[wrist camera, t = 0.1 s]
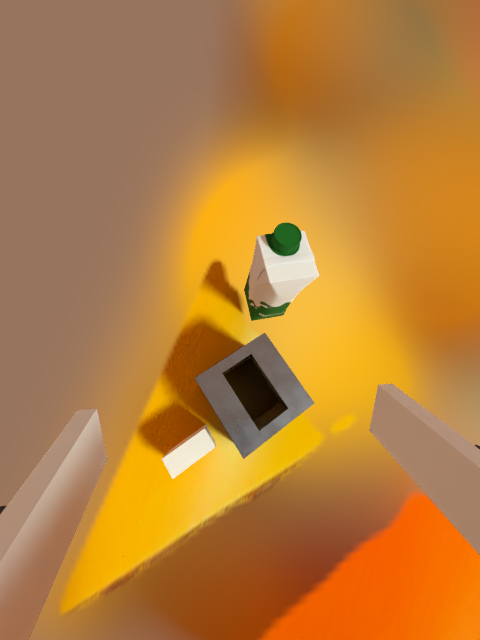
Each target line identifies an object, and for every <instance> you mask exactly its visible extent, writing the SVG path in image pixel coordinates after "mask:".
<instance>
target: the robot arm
mask: <svg viewBox="0 0 480 640" xmlns="http://www.w3.org/2000/svg"><path fill="white" fill-rule="evenodd" d="M370 431H371V433H372V434H373V435H374V436H375V437H376V438H377V439H378V440H379V442H380V443H381V444H382V445H383V446H384V447H385V448H386V450H387V451H388V452H389V453H390V454H391V455H392V456H393V457H394V459H395V460H396V461H397V462H398V463H399V464H400V465H401V467H402V468H403V469H404V470H405V471H406V472H407V473H408V474H409V476H410V477H411V478H412V479H413V480H414V481H415V482H416V483H417V484H418V486H419V487H420V488H421V489H422V490H423V491H424V493H425V494H426V495H427V496H428V497H429V498H430V499H431V500H432V502H433V503H434V504H435V505H436V506H437V507H438V508H439V509H440V511H441V512H442V513H443V514H444V515H445V516H446V517H447V519H448V520H449V521H450V522H451V523H452V524H453V525H454V526H455V528H456V529H457V530H458V531H459V532H460V533H461V534H462V535H463V537H464V538H465V539H466V540H467V541H468V542H469V543H470V545H471V546H472V547H473V548H474V549H475V550H476V551H477V552H478V554H479V555H480V446H478V445H473V444H472V443H470V442H469V441H468V440H466V439H465V438H464V437H462V436H461V435H459V434H458V433H457V432H456V431H454V430H453V429H452V428H450V427H449V426H448V425H446V424H445V423H444V422H442V421H441V420H440V419H438V418H437V417H436V416H434V415H433V414H432V413H430V412H429V411H428V410H426V409H425V408H424V407H422V406H421V405H419V404H418V403H417V402H416V401H414V400H413V399H412V398H410V397H409V396H408V395H406V394H405V393H404V392H402V391H401V390H400V389H398V388H397V387H396V386H394V385H393V384H384V385H378V389H377V394H376V399H375V404H374V410H373V415H372V420H371V425H370ZM106 460H107V457H106V452H105V447H104V443H103V437H102V432H101V427H100V422H99V417H98V413H97V409H86V410H77V411H76V413H75V414H74V415H73V417H72V418H71V419H70V421H69V422H68V424H67V425H66V426H65V428H64V429H63V430H62V432H61V433H60V434H59V436H58V437H57V438H56V440H55V441H54V443H53V444H52V445H51V447H50V448H49V449H48V451H47V452H46V454H45V455H44V456H43V458H42V459H41V460H40V462H39V463H38V464H37V466H36V467H35V468H34V470H33V471H32V472H31V474H30V475H29V476H28V478H27V479H26V480H25V482H24V483H23V485H22V486H21V487H20V489H19V490H18V491H17V493H16V494H15V495H14V497H13V498H12V500H11V501H10V502H9V504H8V505H7V506H2V507H0V640H28V639H29V637H30V635H31V632H32V630H33V628H34V626H35V623H36V621H37V619H38V617H39V614H40V612H41V609H42V607H43V605H44V603H45V601H46V598H47V596H48V594H49V591H50V589H51V587H52V584H53V582H54V580H55V578H56V575H57V573H58V571H59V568H60V566H61V564H62V562H63V559H64V557H65V555H66V552H67V550H68V548H69V545H70V543H71V541H72V539H73V536H74V534H75V532H76V529H77V527H78V525H79V522H80V520H81V518H82V516H83V513H84V511H85V509H86V506H87V504H88V502H89V500H90V497H91V495H92V493H93V490H94V488H95V486H96V483H97V481H98V479H99V476H100V474H101V472H102V470H103V467H104V465H105V463H106Z"/></svg>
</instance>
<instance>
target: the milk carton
mask: <svg viewBox="0 0 480 640" xmlns="http://www.w3.org/2000/svg"><path fill="white" fill-rule="evenodd" d="M314 261H315V258H314V255H313V254H312V251H311V248H310V245H309V243H308V240H307V237H306V234H305V232H304V231H300V230H299V228H298V227H297V226H295V225H293V224H291V223H281V224H279V225H278V226H277V227H276V228H275V230H274V233H272V234H265V235H264V236H257V240H256V246H255V252H254V258H253V262H252V265H251V269H250V272H249V276H248V279H247V283H246V286H245V289H244V290H245V295H246V299H247V303H248V307H249V312H250V316H251V320H258V319H264V318H270V317H276V316H281V315H284V312H285V311H286V308H287V307H288V306H289V304H290V303H291V302H292V301H293V299H294V298H295V297H296V296H297V294H298V293H299V292H300V291H301V290H302V289H304V288H305V287H306V286H307V285H308V284H309V283H311V282H312V281H313V280H314V279H316V278H317V277H318V276H319V273H318V271H317V268H316V264H315V262H314Z"/></svg>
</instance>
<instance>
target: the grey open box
mask: <svg viewBox="0 0 480 640" xmlns="http://www.w3.org/2000/svg"><path fill="white" fill-rule="evenodd" d="M248 358H251V359H252V361H253V362H254V364H255V365H256V366H257V368H258V369H259V371H260V372H261V374H262V375H263V377H264V378H265V380H266V381H267V383H268V384H269V386H270V387H271V389H272V390H273V392H274V393H275V395H276V396H277V398H278V399H279V401H280V402H279V403H278V404H276V405H275V406H274V407H272V408H271V409H270V410H268V411H267V412H266V413H264V414H263V415H262V416H260V417H259V418H258V419H256V420H255V421H254V422H253V421H252V419H251V418H250V416H249V414H248V413H247V411H246V410H245V408H244V407H243V405H242V403H241V402H240V400H239V399H238V397H237V396H236V394H235V392H234V391H233V389H232V388H231V386H230V385H229V383H228V381H227V380H226V378H225V377H224V374H226V373H227V372H229V371H230V370H232V369H233V368H235V367H236V366H238V365H239V364H241V363H242V362H244V361H245V360H247V359H248ZM195 379H196V381H197V383H198V384H199V386H200V388H201V389H202V391H203V393H204V394H205V396H206V398H207V399H208V401H209V402H210V404H211V406H212V407H213V409H214V411H215V412H216V414H217V416H218V417H219V419H220V421H221V422H222V424H223V426H224V427H225V429H226V430H227V432H228V434H229V435H230V437H231V439H232V440H233V442H234V444H235V445H236V447H237V449H238V450H239V452H240V454H241V455H242V457H243V459H244V458H245V457H247V456H248V455H249V454H250V453H252V452H253V451H254V450H255V449H257V448H258V447H259V446H261V445H262V444H263V443H264V442H266V441H267V440H268V439H269V438H271V437H272V436H273V435H274V434H276V433H277V432H278V431H280V430H281V429H282V428H283V427H285V426H286V425H287V424H288V423H290V422H291V421H292V420H293V419H295V418H296V417H297V416H299V415H300V414H301V413H302V412H304V411H305V410H306V409H307V408H309V407H310V406H311V405H313V404H314V402H313V401H312V399H311V398H310V396H309V395H308V393H307V392H306V391H305V389H304V388H303V386H302V385H301V384H300V382H299V381H298V379H297V378H296V376H295V375H294V373H293V372H292V371H291V369H290V368H289V366H288V365H287V364H286V362H285V361H284V359H283V358H282V357H281V355H280V354H279V352H278V351H277V349H276V348H275V347H274V345H273V344H272V342H271V341H270V339H269V338H268V337H267V335H266V334H265V333H264V334H262V335H260V336H259V337H257V338H256V339H254V340H253V341H251V342H250V343H248V344H247V345H245V346H243V347H242V348H240V349H239V350H237V351H236V352H234V353H233V354H231V355H229V356H228V357H226V358H225V359H223V360H222V361H220V362H219V363H217V364H215V365H214V366H212V367H211V368H209V369H208V370H206V371H205V372H203V373H202V374H200V375H198V376H197V377H195Z"/></svg>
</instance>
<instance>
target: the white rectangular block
mask: <svg viewBox="0 0 480 640" xmlns="http://www.w3.org/2000/svg"><path fill="white" fill-rule="evenodd" d="M215 447H216V445H215V439H214V437H213V435H212V434H211V432H210V430H209V429H208V427H207V425H206V424H205V425H204V426H202V427H201V428H200V429H198V430H197V431H195V432H194V433H193V434H191V435H190V436H188V437H187V438H186V439H184V440H183V441H181V442H180V443H178V444H177V445H176V446H174V447H173V448H171V449H170V450H169V451H168V453H167V454H166V455H165V456H164V457H163V458H162V460H163V462H164V464H165V466H166V468H167V470H168V471H169V473H170V475H171V477H172V479H173V478H175V477H176V476H177V475H179V474H180V473H181V472H183V471H184V470H185V469H187V468H188V467H189V466H191V465H192V464H193V463H195V462H196V461H197V460H199V459H200V458H201V457H203V456H204V455H205V454H207V453H208V452H209V451H211V450H212V449H213V448H215Z"/></svg>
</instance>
